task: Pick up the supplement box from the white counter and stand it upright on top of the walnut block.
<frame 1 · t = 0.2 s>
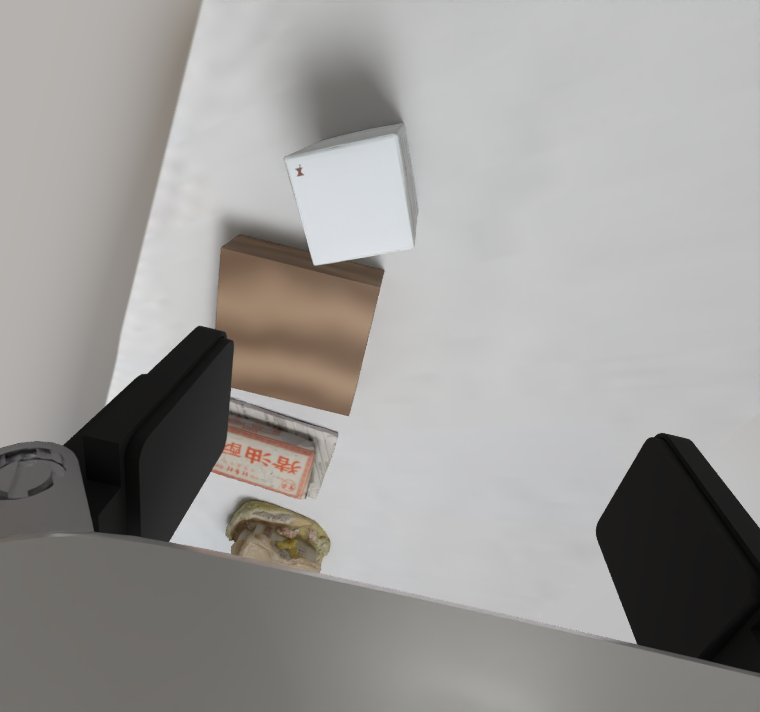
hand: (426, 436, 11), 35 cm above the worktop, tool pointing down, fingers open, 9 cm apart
ceramic model: (281, 535, 65), on the worktop
supplement box: (372, 175, 42), on the worktop
walnut block: (302, 317, 50), on the worktop
packaged product: (257, 437, 58), on the worktop
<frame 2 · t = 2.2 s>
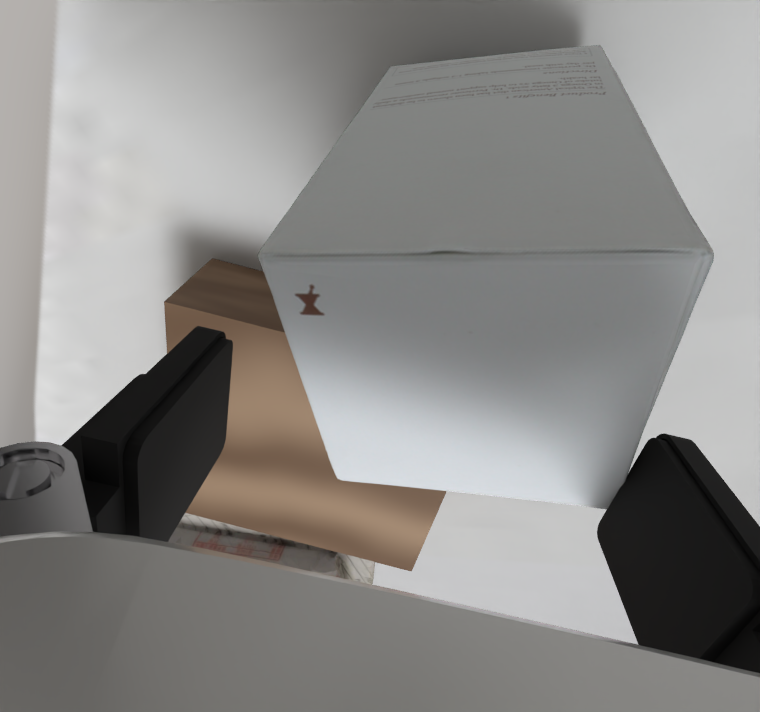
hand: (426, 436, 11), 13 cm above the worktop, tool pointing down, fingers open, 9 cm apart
supplement box: (491, 158, 19), point 1 cm above the worktop, touching gripper
walnut block: (331, 396, 28), on the worktop
packaged product: (262, 548, 38), on the worktop
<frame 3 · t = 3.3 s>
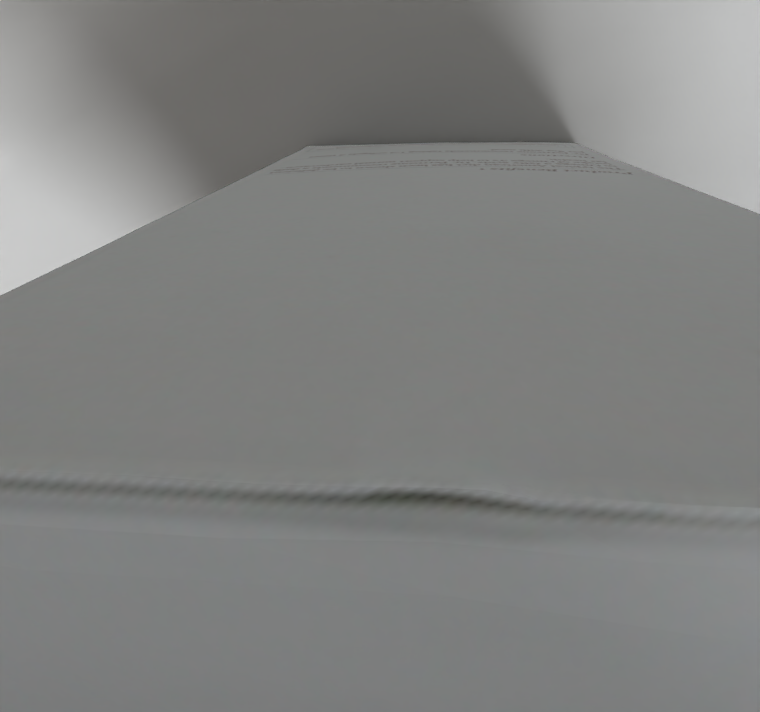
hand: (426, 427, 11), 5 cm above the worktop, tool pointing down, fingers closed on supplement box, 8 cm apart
supplement box: (436, 274, 15), on the worktop, touching gripper
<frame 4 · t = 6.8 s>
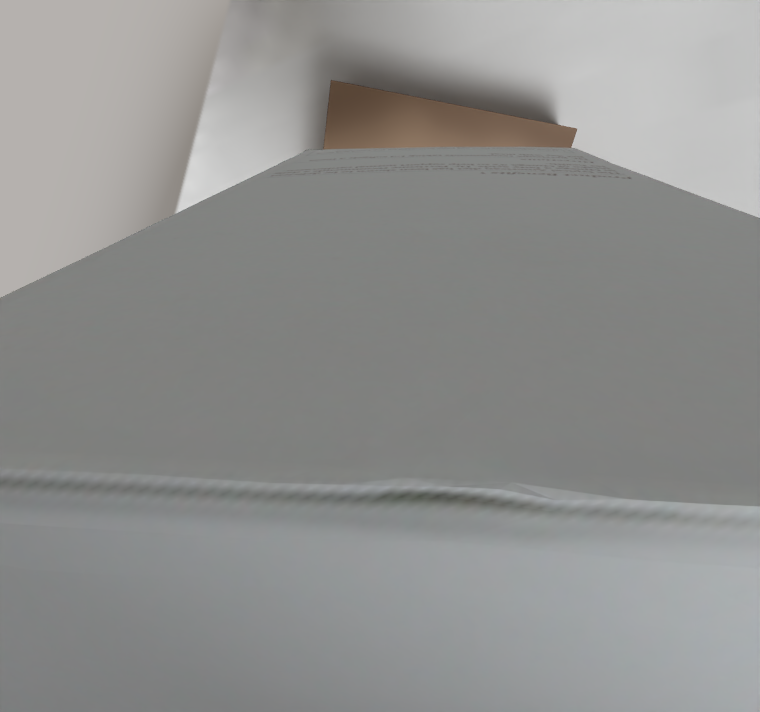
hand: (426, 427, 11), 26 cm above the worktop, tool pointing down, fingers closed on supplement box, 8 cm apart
supplement box: (435, 277, 15), point 21 cm above the worktop, touching gripper
walnut block: (427, 212, 35), on the worktop
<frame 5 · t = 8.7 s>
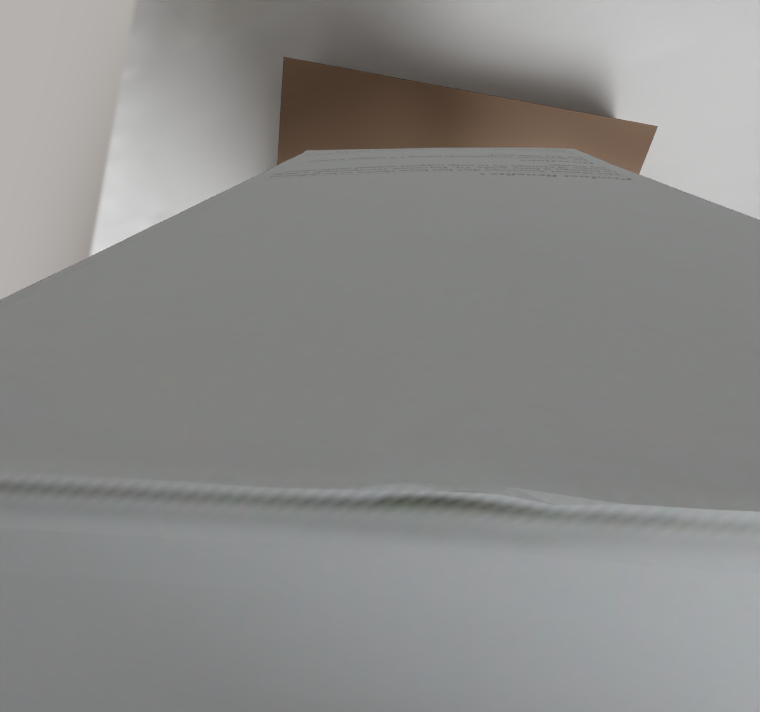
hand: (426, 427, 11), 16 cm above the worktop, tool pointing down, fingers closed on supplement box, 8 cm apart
supplement box: (435, 278, 15), point 11 cm above the worktop, touching gripper
walnut block: (430, 242, 26), on the worktop
when the fingers open (10 cm above the worktop, at t = 10.4 s): supplement box drops 1 cm, point 4 cm above the worktop.
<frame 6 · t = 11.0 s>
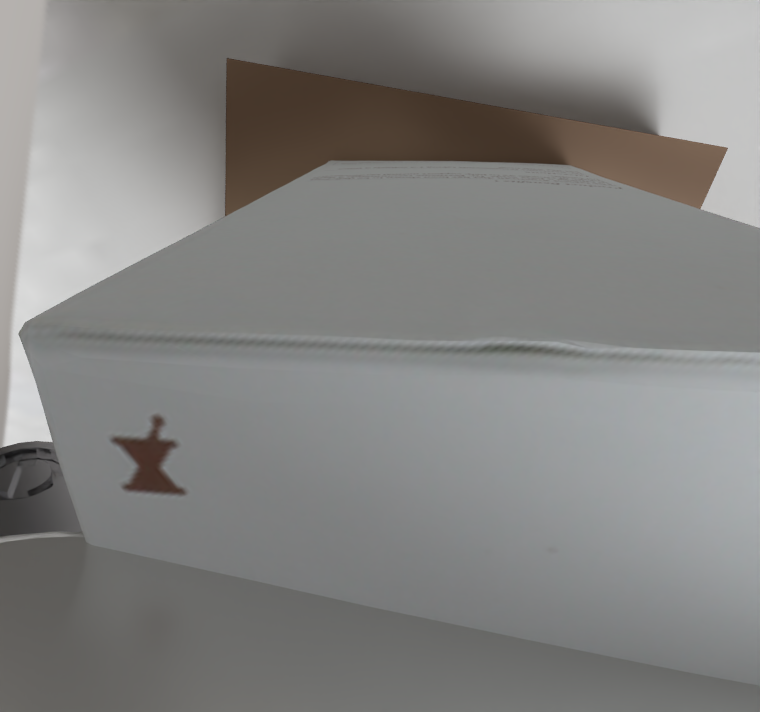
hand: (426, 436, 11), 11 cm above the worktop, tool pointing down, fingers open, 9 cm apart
supplement box: (442, 280, 16), point 4 cm above the worktop
walnut block: (426, 283, 21), on the worktop
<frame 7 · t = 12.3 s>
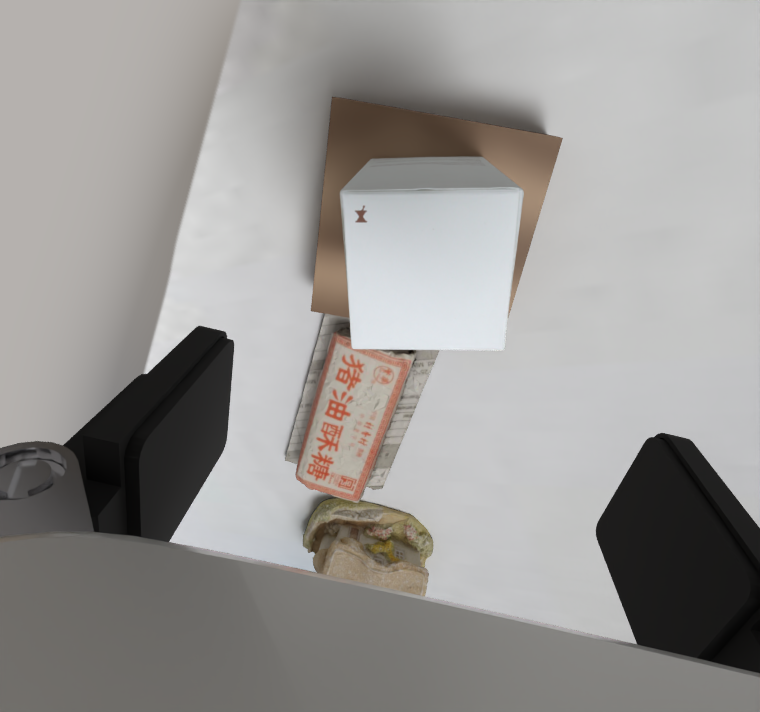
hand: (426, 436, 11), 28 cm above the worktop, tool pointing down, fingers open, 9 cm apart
ceramic model: (370, 538, 52), on the worktop
supplement box: (426, 216, 32), point 4 cm above the worktop
walnut block: (424, 218, 37), on the worktop
packaged product: (360, 394, 45), on the worktop
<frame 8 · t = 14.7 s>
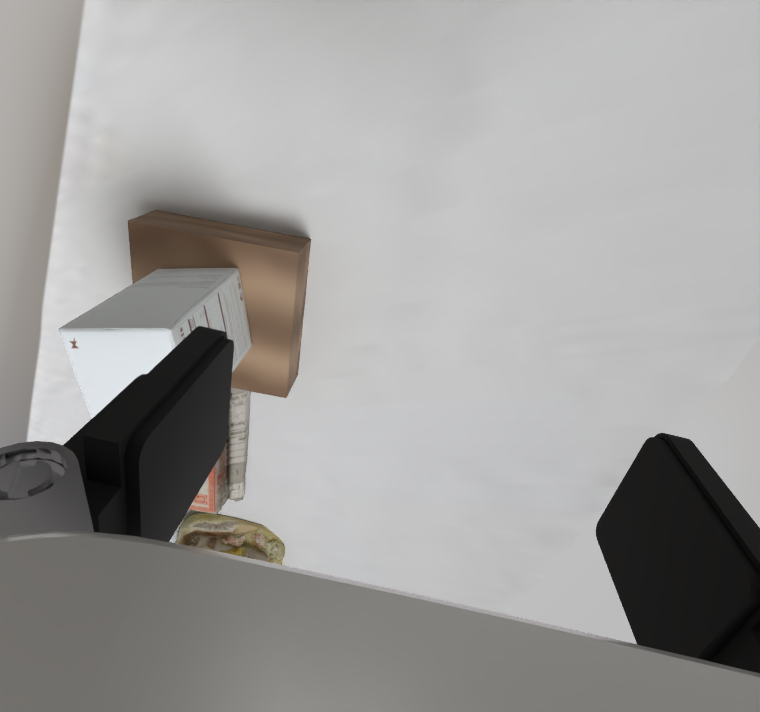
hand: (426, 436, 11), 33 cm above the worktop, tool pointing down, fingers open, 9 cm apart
ceramic model: (236, 545, 63), on the worktop
supplement box: (208, 307, 42), point 4 cm above the worktop, touching walnut block
walnut block: (233, 296, 47), on the worktop, touching supplement box
packaged product: (207, 424, 54), on the worktop
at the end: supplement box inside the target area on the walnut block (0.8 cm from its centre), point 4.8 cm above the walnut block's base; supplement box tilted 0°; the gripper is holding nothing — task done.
